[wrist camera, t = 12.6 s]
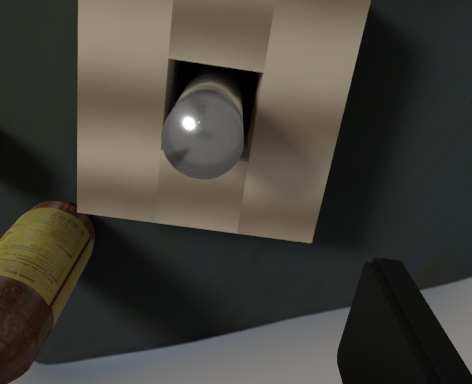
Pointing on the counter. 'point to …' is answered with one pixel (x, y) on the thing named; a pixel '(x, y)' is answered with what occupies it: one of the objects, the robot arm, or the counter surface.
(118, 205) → the hole block
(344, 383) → the robot arm
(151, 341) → the counter surface
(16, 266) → the sauce bottle
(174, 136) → the long pin
